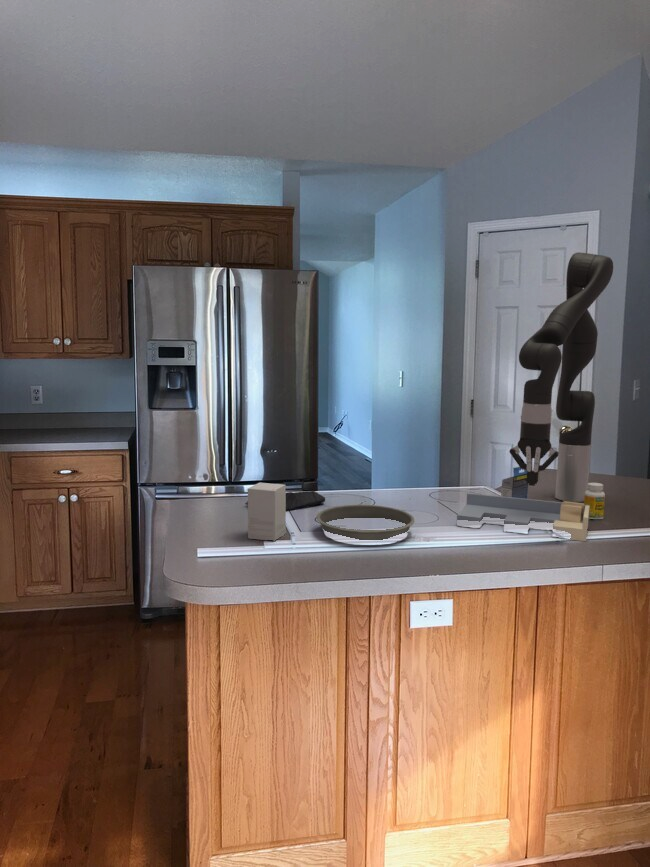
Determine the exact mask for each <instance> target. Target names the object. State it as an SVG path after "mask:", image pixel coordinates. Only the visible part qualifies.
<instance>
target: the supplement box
mask: <svg viewBox="0 0 650 867" xmlns="http://www.w3.org/2000/svg"><path fill="white" fill-rule="evenodd" d="M286 491H287V490H286V484H280V483H267V482H258V483H256V484H253V485H252V486H250V487H248V488H247V501H248V505H247V538H248V539H251V540H252V539H253V540H260V541H267V540H276V539H278V538H279V537H281V536H282V537H283V536H285V535H286V534H285V533H286V532H287V529H286V528H287V527H286V525H287V523H286V516H287V515H286V512H287V511H286V493H287V492H286ZM284 534H285V535H284ZM282 537H281V538H282ZM279 539H280V538H279ZM279 539H278V540H279ZM276 541H277V540H276Z"/></svg>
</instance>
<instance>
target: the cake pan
mask: <svg viewBox="0 0 650 867" xmlns="http://www.w3.org/2000/svg"><path fill="white" fill-rule="evenodd" d="M344 518H385V519H391V520H396V521H399V522H402V523H405V524H406V525H405V526H402V527H398V528H394V529H386V530H354V529H346V528H340V527H336V526H332V525H329V524H327V523H326V522H329V521H332V520H337V519H344ZM315 519H316V521H317V522H318V523H320V525H321V529H322V528H323V529H324V530H325V531H327V532H330V533H333V534H338V535H342V536H346V537H350V538H355V539H359V540H383V539H388V538H390V537H393V536H396V535H399V534H402V533H405V532H407V531H408V530H409V531H410V527H411V526H413V525H414V523H415V521H416V520H415V517H414V516H413V515H412V514H411V513H409V512H407V511H405V510H402V509H399V508H394V507H390V506H383V505H376V504H375V505H374V504H347V505H338V506H332V507H329V508H325V509H323V510H321V511H319V512H318V513H317V514H316V517H315Z"/></svg>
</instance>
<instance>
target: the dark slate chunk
mask: <svg viewBox="0 0 650 867" xmlns="http://www.w3.org/2000/svg"><path fill="white" fill-rule="evenodd" d="M246 501H247V502H245V503H244V504H245V505H247V506H248V500H246ZM325 502H326V497H325V496H323V495H322V494H320V493H318V492H317V491H315V490H309V491H308V490H307V491H297V492H293V491H287V492H286V510H290V511H292V510H291V509H294V510H297V509H296V508H300V509H303V508H302V507H305V508H308V507H307V506H312V507H314V506H313V505H316V504H318V505H320V504H323V503H325ZM316 506H317V505H316Z"/></svg>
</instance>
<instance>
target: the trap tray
mask: <svg viewBox="0 0 650 867" xmlns="http://www.w3.org/2000/svg"><path fill="white" fill-rule="evenodd" d="M563 502H564V501H563ZM563 502H561V501H552V500H541V499H533V498H527V499H523V498H513V497H503V496H501V495H493V494H483V493H481V494H480V493H472V492H467V493H466V504H465V505H464V506H463V508H462V509H461V510H460V511H459V512H458V514H457V515H456V516H457V517H456V521H457V520H468V521H479V522H480V521H481V520H482V519H483V517H490V518H500V519H505V520H504V524H515V525H528V524H529V523H530V521H535V522H547V523H548V522H549V523H554V524H553V529H556V530H561V531H565V532H568V533H570V534H571V538H570V539H571V541H577V542H586V541H587V538H588V530H589V520H590V519H589V506H590V505H584V510H583V519H582V521H581V522H580V523H577V522H569V521H562V520H560V509H561V504H562V503H563ZM587 529H588V530H587ZM586 537H587V538H586Z"/></svg>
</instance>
